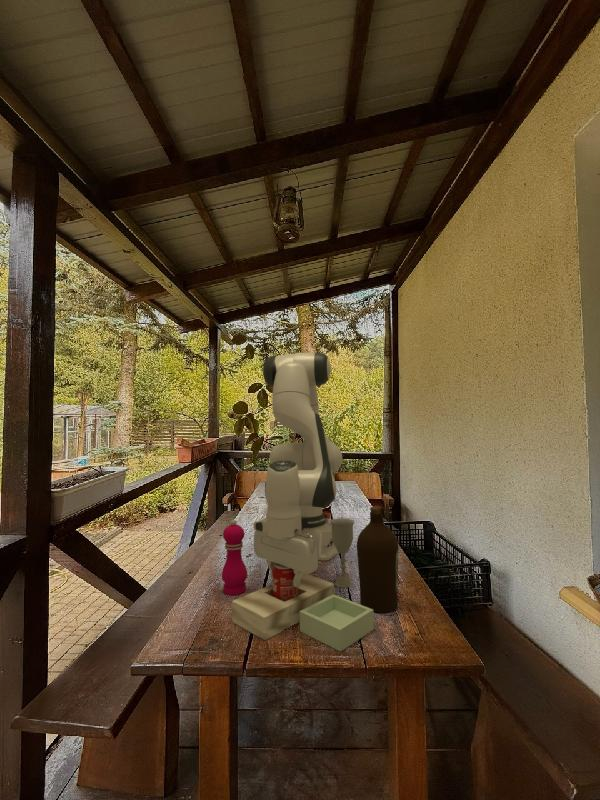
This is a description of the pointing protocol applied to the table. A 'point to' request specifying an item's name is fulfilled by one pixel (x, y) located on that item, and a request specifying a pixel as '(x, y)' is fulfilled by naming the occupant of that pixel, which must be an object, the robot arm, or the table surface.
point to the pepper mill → (234, 560)
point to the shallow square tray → (336, 621)
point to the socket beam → (278, 607)
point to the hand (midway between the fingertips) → (285, 581)
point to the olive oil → (378, 564)
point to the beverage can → (283, 583)
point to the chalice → (342, 546)
